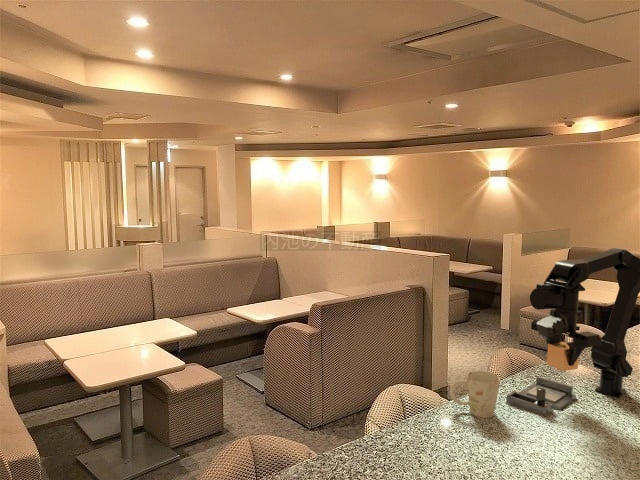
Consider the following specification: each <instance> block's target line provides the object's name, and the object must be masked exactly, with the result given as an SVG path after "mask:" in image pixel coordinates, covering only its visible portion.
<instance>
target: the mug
mask: <svg viewBox="0 0 640 480" xmlns="http://www.w3.org/2000/svg"><path fill="white" fill-rule="evenodd" d="M500 383H501V378H500V376H499V375H497V374H496V373H493V372H489V371H483V370H474V371H473V370H472V371H469V372H468V373H467V374H466V380H455V381H454V383H452V385H451V386H450V389H449V396H450V398H451V399H452V400H453V402H455V403H457V405H463V406H469V412H470V414H471V415H473V416H475V417H477V418H483V419H488V418H492V417H493V416H494V415H495V410H496V405H497V399H498V395H499V389H500ZM459 386H467V392H468V393H467V394H468V395H467V396H468V401H462V400H460V399H458V398H457V396H456V393H455V391H456V389H457V388H458V387H459Z"/></svg>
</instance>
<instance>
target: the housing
mask: <svg viewBox="0 0 640 480" xmlns="http://www.w3.org/2000/svg"><path fill="white" fill-rule="evenodd" d="M567 343H568V342H565V341H560V342H557V343H549V344H547V353H546V354H547V356H546V365H547V366H549V367H552V368H555V369H557V370H559V371H561V372H565V371H571V370H572V371H573V370H576V369H577V370H578V368H579V359H580V358H579V357H580V356H579V357H578V359H577V360H576V362H575V363H574V365H573V366H569V349H570V348H569V346H568V345H567Z"/></svg>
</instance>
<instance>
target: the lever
mask: <svg viewBox="0 0 640 480" xmlns="http://www.w3.org/2000/svg"><path fill="white" fill-rule="evenodd" d="M545 395H546V390H545V389H544V388H537V394H536V402H535V403H534V404H537V405H540V406H543V407H544V406H546V405H547V404H545Z"/></svg>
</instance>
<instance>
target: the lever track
mask: <svg viewBox="0 0 640 480" xmlns="http://www.w3.org/2000/svg"><path fill="white" fill-rule="evenodd" d="M505 401H506V404H510V405H512V406H516V407H518V408H521V409H525V410H527V411H530V412H533V413H536V414H538V415H541V416H544V417H547V416H549V415H550V414H551V413H553V412H554V408H553V403H548V402H545V404H547V405H546V406H544V407H543V406H540V405H537V404H534V403H535V402H536V399H535V398H532V397H529V396H526V395H523V394H520V393H519V392H517V391H515V390H513V391H510V392H509V393H507V394H506V399H505Z"/></svg>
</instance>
